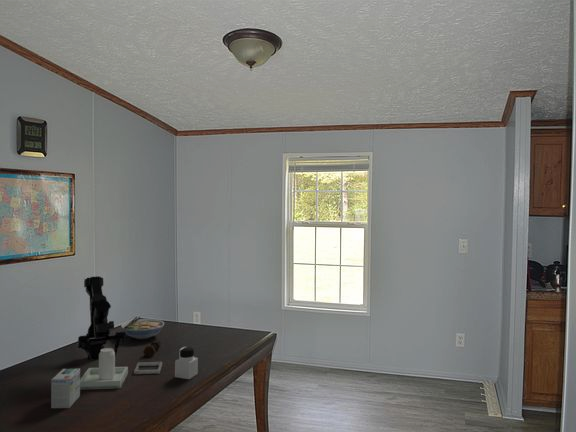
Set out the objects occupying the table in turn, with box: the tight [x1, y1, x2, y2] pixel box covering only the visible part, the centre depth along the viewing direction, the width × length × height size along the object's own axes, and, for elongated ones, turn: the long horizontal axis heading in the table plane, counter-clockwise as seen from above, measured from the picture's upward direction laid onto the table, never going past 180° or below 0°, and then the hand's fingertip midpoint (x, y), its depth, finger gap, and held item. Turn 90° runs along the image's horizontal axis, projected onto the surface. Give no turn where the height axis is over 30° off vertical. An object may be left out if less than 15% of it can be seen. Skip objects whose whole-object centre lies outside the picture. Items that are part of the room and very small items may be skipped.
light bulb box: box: [50, 368, 81, 409], centre depth 171 cm, size 11×7×11 cm, turn 5°
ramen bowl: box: [120, 316, 165, 340], centre depth 254 cm, size 25×23×8 cm
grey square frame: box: [133, 361, 163, 375], centre depth 206 cm, size 11×11×2 cm
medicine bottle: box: [174, 346, 199, 380], centre depth 199 cm, size 7×7×12 cm
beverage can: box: [98, 347, 116, 380], centre depth 192 cm, size 6×6×12 cm
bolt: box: [143, 340, 162, 358], centre depth 230 cm, size 6×5×15 cm
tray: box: [80, 366, 129, 391], centre depth 192 cm, size 16×16×3 cm
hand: (103, 357), depth 193 cm, fingers open, 9 cm apart
